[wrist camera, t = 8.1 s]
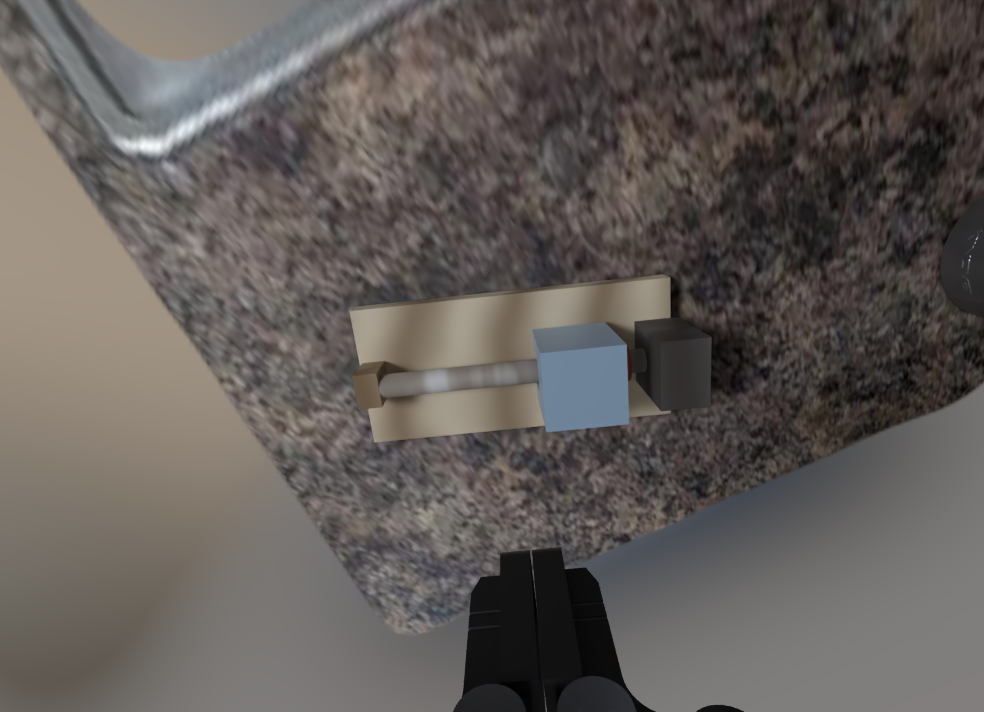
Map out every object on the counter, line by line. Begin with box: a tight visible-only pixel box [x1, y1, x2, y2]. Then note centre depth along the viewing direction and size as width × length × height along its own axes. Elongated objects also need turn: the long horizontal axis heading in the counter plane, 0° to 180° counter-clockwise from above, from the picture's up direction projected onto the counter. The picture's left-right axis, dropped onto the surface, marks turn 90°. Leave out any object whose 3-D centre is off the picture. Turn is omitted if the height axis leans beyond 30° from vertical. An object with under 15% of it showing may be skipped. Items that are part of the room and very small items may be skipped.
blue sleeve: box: [532, 322, 629, 432], centre depth 33 cm, size 5×5×6 cm
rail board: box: [350, 275, 712, 442], centre depth 34 cm, size 22×10×7 cm, turn 96°
